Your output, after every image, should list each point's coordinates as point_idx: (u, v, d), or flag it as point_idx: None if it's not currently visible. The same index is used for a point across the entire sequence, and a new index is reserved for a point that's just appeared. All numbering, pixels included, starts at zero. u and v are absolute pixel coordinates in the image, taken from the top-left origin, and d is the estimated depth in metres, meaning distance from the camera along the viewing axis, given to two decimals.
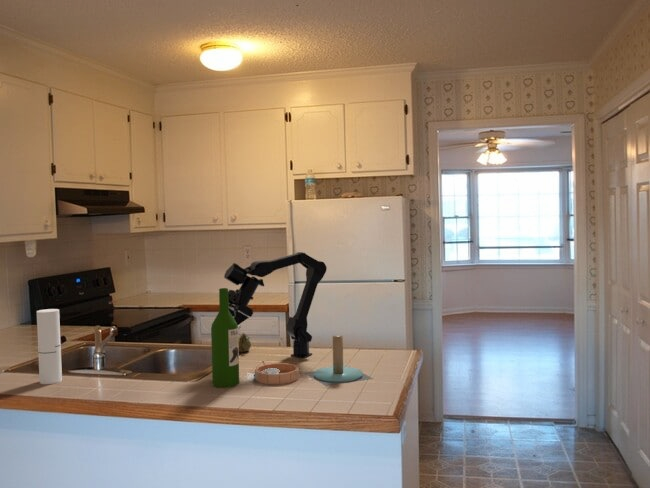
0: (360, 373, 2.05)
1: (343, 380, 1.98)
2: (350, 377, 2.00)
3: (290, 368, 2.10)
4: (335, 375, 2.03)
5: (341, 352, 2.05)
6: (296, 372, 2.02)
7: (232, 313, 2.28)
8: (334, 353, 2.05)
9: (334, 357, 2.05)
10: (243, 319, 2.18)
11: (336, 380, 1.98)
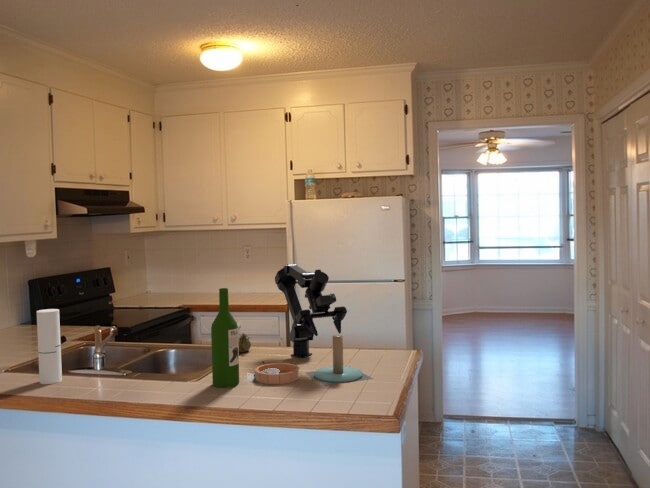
0: (360, 373, 2.05)
1: (343, 380, 1.98)
2: (350, 377, 2.00)
3: (290, 368, 2.10)
4: (335, 375, 2.03)
5: (341, 352, 2.05)
6: (296, 372, 2.02)
7: None
8: (334, 353, 2.05)
9: (334, 357, 2.05)
10: None
11: (336, 380, 1.98)
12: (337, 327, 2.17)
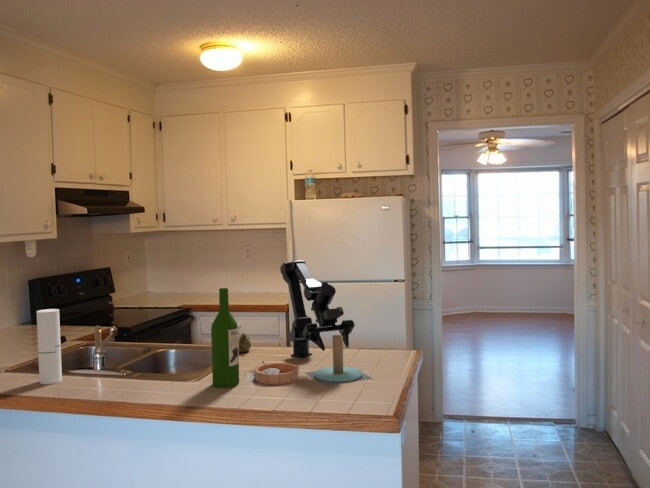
0: (360, 373, 2.05)
1: (343, 380, 1.98)
2: (350, 377, 2.00)
3: (290, 368, 2.10)
4: (335, 375, 2.03)
5: (341, 352, 2.05)
6: (296, 372, 2.02)
7: None
8: (334, 353, 2.05)
9: (334, 357, 2.05)
10: None
11: (336, 380, 1.98)
12: (345, 341, 2.11)
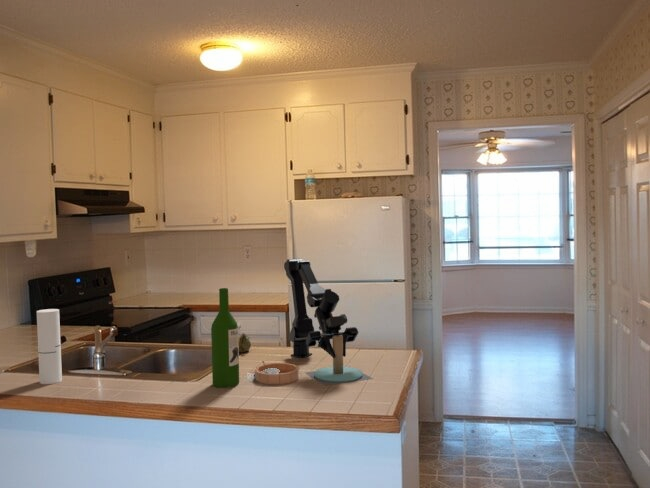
0: (360, 373, 2.05)
1: (343, 380, 1.98)
2: (350, 377, 2.00)
3: (290, 368, 2.10)
4: (335, 375, 2.03)
5: (341, 352, 2.05)
6: (296, 372, 2.02)
7: None
8: None
9: None
10: None
11: (336, 380, 1.98)
12: None
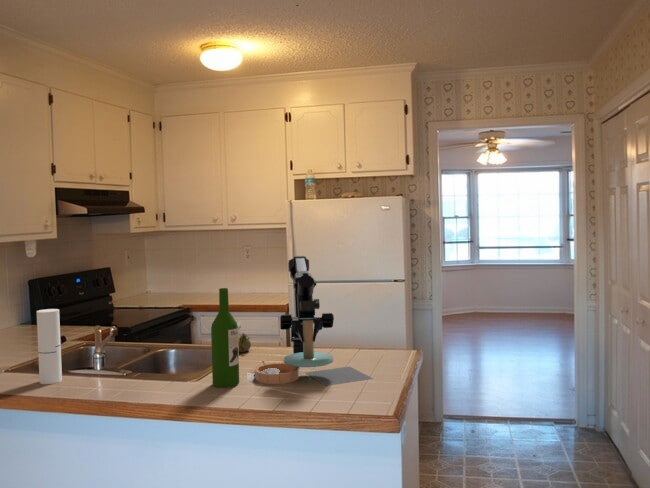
0: (328, 360, 2.00)
1: (304, 365, 1.96)
2: (313, 363, 1.96)
3: (290, 368, 2.10)
4: (302, 360, 2.01)
5: (310, 337, 2.02)
6: (296, 372, 2.02)
7: None
8: (303, 338, 2.03)
9: (303, 342, 2.03)
10: (317, 330, 2.08)
11: (298, 364, 1.96)
12: (313, 335, 2.05)
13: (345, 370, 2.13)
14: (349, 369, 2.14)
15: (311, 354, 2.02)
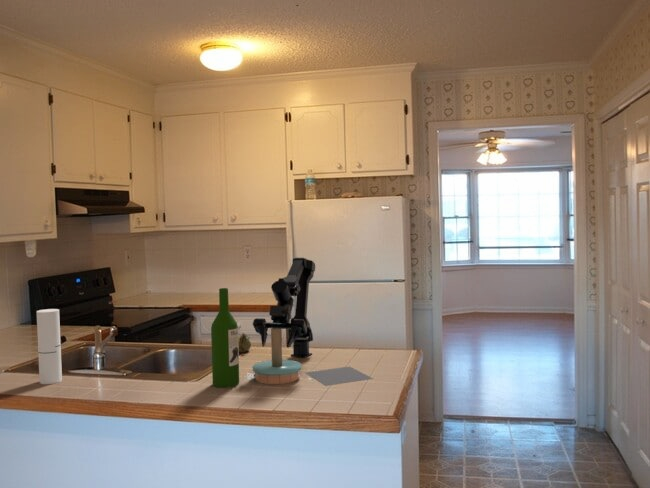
0: (291, 369, 1.99)
1: (264, 372, 1.98)
2: (272, 371, 1.97)
3: None
4: (268, 367, 2.03)
5: (276, 345, 2.03)
6: (296, 372, 2.02)
7: (266, 334, 2.09)
8: (271, 345, 2.05)
9: None
10: (296, 336, 2.07)
11: (258, 371, 1.99)
12: None
13: (345, 370, 2.13)
14: (349, 369, 2.14)
15: (278, 362, 2.03)
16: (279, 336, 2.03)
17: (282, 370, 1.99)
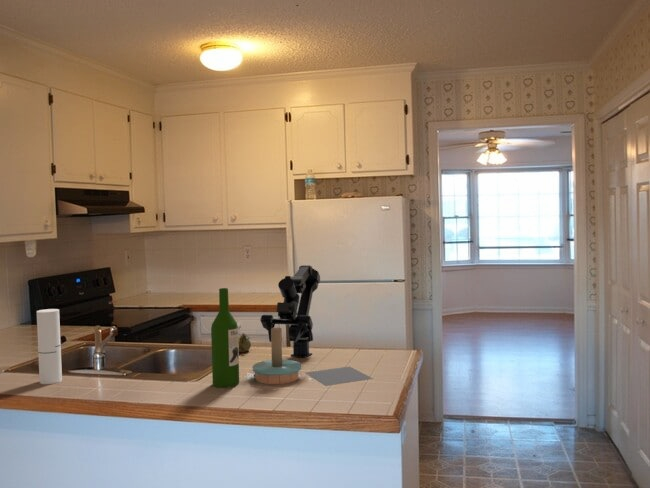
0: (291, 369, 1.99)
1: (264, 372, 1.98)
2: (272, 371, 1.97)
3: None
4: (268, 367, 2.03)
5: (276, 345, 2.03)
6: (296, 372, 2.02)
7: None
8: (271, 345, 2.05)
9: None
10: (303, 332, 2.15)
11: (258, 371, 1.99)
12: None
13: (345, 370, 2.13)
14: (349, 369, 2.14)
15: (278, 362, 2.03)
16: (279, 336, 2.03)
17: (282, 370, 1.99)
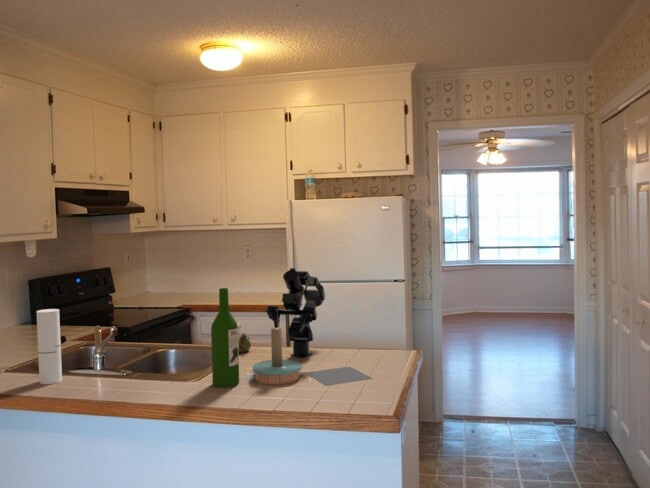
0: (291, 369, 1.99)
1: (264, 372, 1.98)
2: (272, 371, 1.97)
3: None
4: (268, 367, 2.03)
5: (276, 345, 2.03)
6: (296, 372, 2.02)
7: (278, 320, 2.25)
8: (271, 345, 2.05)
9: None
10: (307, 322, 2.22)
11: (258, 371, 1.99)
12: None
13: (345, 370, 2.13)
14: (349, 369, 2.14)
15: (278, 362, 2.03)
16: (279, 336, 2.03)
17: (282, 370, 1.99)
